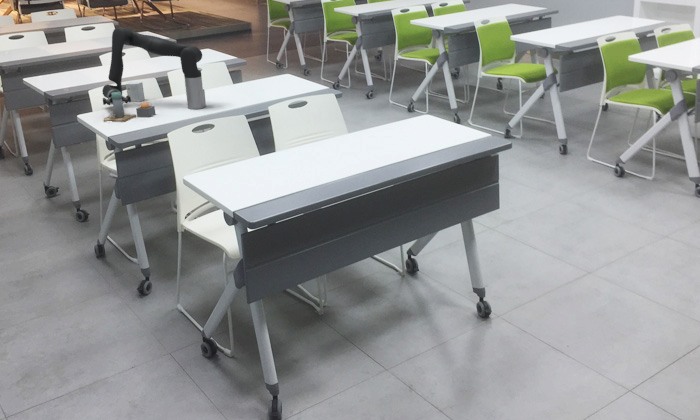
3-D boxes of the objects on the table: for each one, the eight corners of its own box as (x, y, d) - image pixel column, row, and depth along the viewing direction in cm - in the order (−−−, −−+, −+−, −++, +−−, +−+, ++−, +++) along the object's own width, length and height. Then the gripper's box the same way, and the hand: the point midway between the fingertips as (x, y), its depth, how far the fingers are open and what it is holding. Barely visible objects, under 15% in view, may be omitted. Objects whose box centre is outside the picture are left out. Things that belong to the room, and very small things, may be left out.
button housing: (155, 114, 395) (154, 105, 393) (149, 117, 389) (148, 108, 387) (143, 113, 397) (142, 105, 395) (137, 116, 390) (136, 108, 389)
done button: (151, 108, 393) (150, 102, 392) (147, 110, 389) (146, 104, 388) (143, 108, 394) (143, 102, 393) (139, 109, 390) (139, 104, 389)
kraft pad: (136, 116, 391) (135, 114, 391) (124, 121, 380) (124, 119, 380) (115, 116, 394) (115, 114, 393) (103, 121, 383) (103, 119, 382)
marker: (124, 115, 390) (120, 91, 385) (125, 117, 385) (121, 93, 381) (114, 116, 388) (110, 92, 383) (115, 118, 384) (111, 94, 379)
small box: (145, 99, 432) (142, 82, 429) (139, 101, 427) (137, 83, 424) (133, 99, 435) (131, 81, 431) (128, 101, 430) (125, 83, 426)
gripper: (100, 91, 393) (102, 96, 379) (127, 88, 398) (130, 94, 384) (102, 105, 396) (104, 111, 382) (129, 102, 401) (132, 108, 386)
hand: (117, 102), depth 383 cm, fingers open, 8 cm apart
